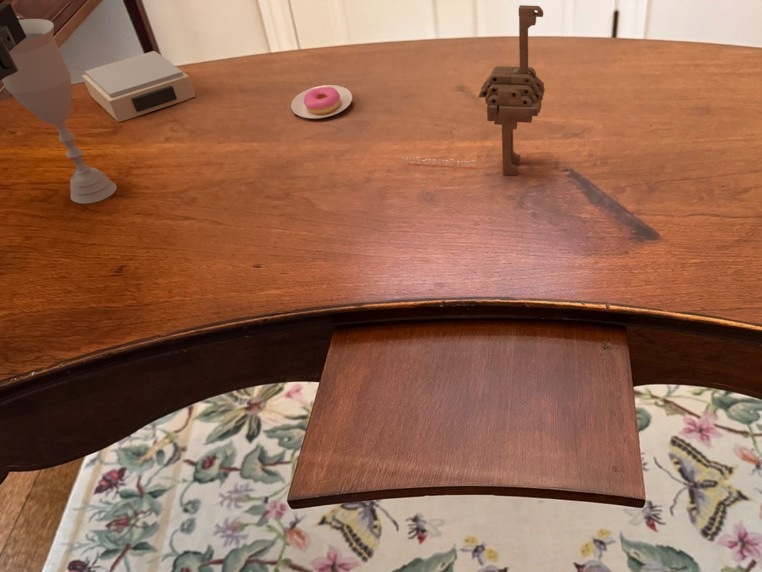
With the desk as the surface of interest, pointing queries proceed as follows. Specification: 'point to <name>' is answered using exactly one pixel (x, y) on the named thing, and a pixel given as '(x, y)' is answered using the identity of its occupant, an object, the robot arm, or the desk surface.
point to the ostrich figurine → (511, 95)
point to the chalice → (53, 101)
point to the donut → (321, 101)
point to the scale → (138, 85)
